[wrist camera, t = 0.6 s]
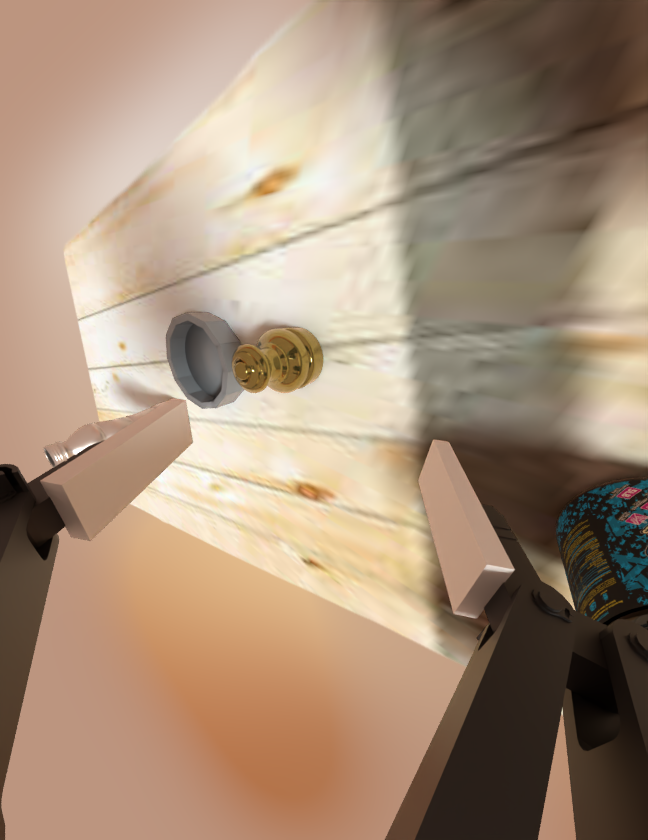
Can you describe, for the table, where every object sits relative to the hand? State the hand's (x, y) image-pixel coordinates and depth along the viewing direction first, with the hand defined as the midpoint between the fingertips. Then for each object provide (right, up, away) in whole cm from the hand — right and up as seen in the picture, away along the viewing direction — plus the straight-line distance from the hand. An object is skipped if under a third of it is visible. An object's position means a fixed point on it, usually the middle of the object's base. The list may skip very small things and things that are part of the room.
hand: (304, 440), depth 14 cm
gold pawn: (-2, +9, +20) cm, 22 cm away
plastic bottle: (-28, +2, +40) cm, 49 cm away
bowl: (-17, +11, +28) cm, 35 cm away
